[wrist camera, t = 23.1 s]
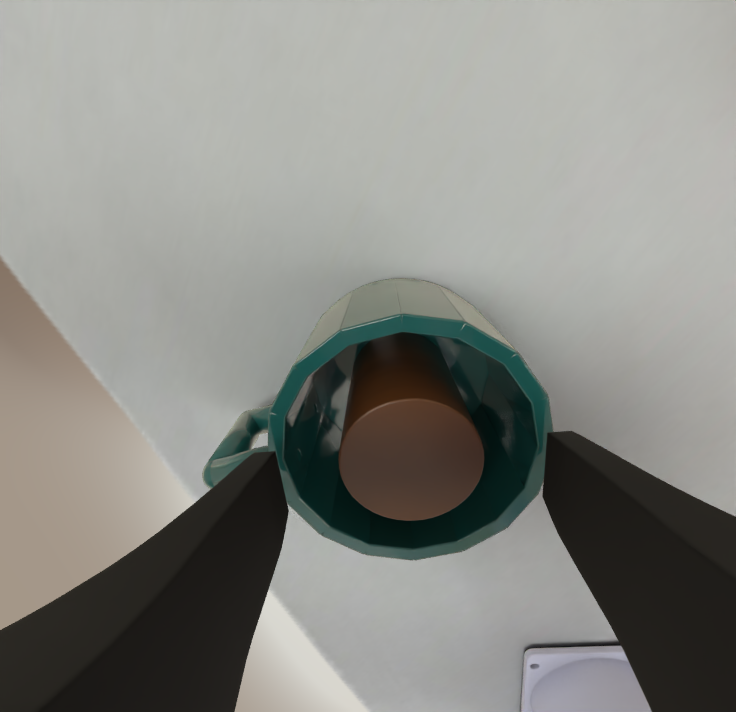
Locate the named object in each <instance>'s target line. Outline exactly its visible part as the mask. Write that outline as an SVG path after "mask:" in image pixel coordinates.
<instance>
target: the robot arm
mask: <svg viewBox="0 0 736 712" xmlns="http://www.w3.org/2000/svg"><path fill="white" fill-rule="evenodd" d="M543 499H544V501H545V504H546V506H547V509H548V511H549V514H550V516H551V518H552V521H553V523H554V525H555V528H556V530H557V532H558V534H559V536H560V538H561V540H562V542H563V543H564V545H565V547H566V549H567V550H568V552H569V554H570V556H571V558H572V559H573V561H574V563H575V565H576V566H577V568H578V570H579V572H580V573H581V575H582V577H583V579H584V580H585V582H586V584H587V585H588V587H589V589H590V591H591V592H592V594H593V596H594V598H595V599H596V601H597V603H598V605H599V606H600V608H601V610H602V612H603V613H604V615H605V617H606V618H607V620H608V622H609V624H610V626H611V627H612V629H613V631H614V633H615V635H616V637H617V639H618V641H619V643H620V644H621V645H620V646H589V647H557V648H532V649H528V650H527V651H526V652H525V654H524V666H523V682H522V698H521V712H736V517H735V516H733V515H731V514H728V513H726V512H724V511H722V510H720V509H718V508H716V507H713V506H711V505H709V504H707V503H705V502H703V501H701V500H699V499H697V498H695V497H693V496H691V495H689V494H687V493H685V492H683V491H681V490H679V489H677V488H675V487H673V486H671V485H670V484H668V483H666V482H664V481H662V480H660V479H658V478H656V477H654V476H653V475H651V474H649V473H647V472H645V471H643V470H642V469H640V468H638V467H636V466H634V465H633V464H631V463H629V462H627V461H626V460H624V459H622V458H620V457H618V456H617V455H615V454H613V453H611V452H610V451H608V450H606V449H604V448H603V447H601V446H599V445H597V444H595V443H594V442H592V441H590V440H588V439H586V438H585V437H583V436H581V435H579V434H577V433H575V432H573V431H564V432H550V433H547V443H546V457H545V471H544V485H543ZM288 512H289V511H288V506H287V501H286V497H285V492H284V488H283V483H282V478H281V474H280V469H279V465H278V460H277V456H276V451H271V452H256V453H253V454H251V455H250V456H249V457H248V458H246V459H245V460H244V461H243V462H242V463H240V464H239V465H238V466H237V467H236V468H235V469H234V470H232V471H231V472H230V473H229V474H228V475H227V476H226V477H225V478H223V479H222V480H221V481H220V482H219V483H218V484H216V485H215V486H214V487H213V488H212V489H211V490H210V491H208V492H207V493H206V494H205V495H204V496H203V497H201V498H200V499H199V500H198V501H197V502H196V503H194V504H193V505H192V506H191V507H189V508H188V509H187V510H186V511H184V512H183V513H182V514H181V515H179V516H178V517H177V518H176V519H174V520H173V521H172V522H171V523H169V524H168V525H167V526H166V527H164V528H163V529H162V530H161V531H159V532H158V533H157V534H155V535H154V536H153V537H151V538H150V539H148V540H147V541H146V542H144V543H143V544H142V545H140V546H139V547H137V548H136V549H135V550H133V551H132V552H130V553H129V554H127V555H126V556H124V557H123V558H121V559H120V560H119V561H117V562H115V563H114V564H112V565H111V566H109V567H108V568H106V569H105V570H103V571H102V572H100V573H98V574H97V575H95V576H93V577H92V578H90V579H88V580H87V581H85V582H84V583H82V584H80V585H79V586H77V587H75V588H74V589H72V590H71V591H69V592H67V593H66V594H64V595H62V596H61V597H59V598H58V599H56V600H54V601H53V602H51V603H49V604H47V605H45V606H44V607H42V608H40V609H38V610H36V611H35V612H33V613H31V614H29V615H28V616H26V617H24V618H22V619H20V620H19V621H17V622H15V623H13V624H11V625H9V626H7V627H5V628H3V629H2V630H0V712H234V711H235V707H236V702H237V698H238V694H239V689H240V685H241V681H242V676H243V672H244V668H245V663H246V659H247V656H248V652H249V649H250V645H251V642H252V638H253V635H254V632H255V629H256V626H257V623H258V620H259V617H260V614H261V611H262V607H263V604H264V601H265V598H266V595H267V592H268V589H269V586H270V583H271V580H272V577H273V574H274V571H275V567H276V564H277V561H278V558H279V555H280V551H281V548H282V544H283V539H284V534H285V529H286V523H287V517H288Z"/></svg>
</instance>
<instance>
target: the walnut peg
mask: <svg viewBox="0 0 736 712" xmlns="http://www.w3.org/2000/svg"><path fill="white" fill-rule="evenodd" d="M338 462H339V470H340V475H341V477H342V480H343V483H344V484H345V486H346V488H347V490H348V491H349V492H350V494H351V495H352V496H353V497H354V498H355V499H356V500H357V501H358V502H359V503H360V504H361V505H363V506H364V507H365V508H367V509H369V510H370V511H372V512H374V513H376V514H379V515H381V516H384V517H387V518H391V519H396V520H406V521H412V520H424V519H428V518H433V517H436V516H439V515H442V514H444V513H446V512H448V511H450V510H452V509H454V508H455V507H457V506H458V505H459V504H461V503H462V502H463V501H464V500H465V499H466V498H467V497H468V496H469V495H470V494H471V493H472V491H473V490H474V489H475V487H476V485H477V484H478V482H479V480H480V477H481V475H482V471H483V467H484V449H483V444H482V441H481V438H480V436H479V434H478V431H477V429H476V427H475V425H474V423H473V420H472V418H471V416H470V414H469V412H468V409H467V407H466V405H465V403H464V401H463V398H462V396H461V394H460V392H459V390H458V387H457V385H456V383H455V381H454V379H453V377H452V374H451V372H450V370H449V368H448V366H447V363H446V361H445V359H444V357H443V355H442V353H441V352H440V350H439V349H438V348H437V346H435V345H434V344H433V343H432V342H431V341H430V340H428V339H427V338H425V337H423V336H421V335H418V334H414V333H406V332H400V333H397V334H393V335H389V336H385V337H381V338H377V339H373V340H371V341H370V342H369V343H367V344H366V345H365V346H364V347H363V348H362V350H361V351H360V352H359V354H358V355H357V357H356V359H355V362H354V365H353V369H352V375H351V381H350V387H349V393H348V400H347V406H346V412H345V418H344V424H343V431H342V437H341V443H340V449H339V459H338Z"/></svg>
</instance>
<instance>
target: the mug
mask: <svg viewBox="0 0 736 712" xmlns="http://www.w3.org/2000/svg"><path fill="white" fill-rule="evenodd" d="M400 332H406V333H414V334H418V335H421V336H423V337H425V338H427V339H428V340H430V341H431V342H432V343H433V344H434V345H435V346H437V348H438V349H439V350H440V352H441V353H442V355H443V357H444V359H445V361H446V363H447V366H448V368H449V370H450V372H451V374H452V377H453V379H454V381H455V383H456V385H457V387H458V390H459V392H460V394H461V396H462V398H463V401H464V403H465V405H466V407H467V409H468V412H469V414H470V416H471V418H472V420H473V423H474V425H475V427H476V429H477V431H478V434H479V436H480V438H481V441H482V444H483V449H484V467H483V471H482V475H481V477H480V480H479V482H478V484H477V485H476V487H475V489H474V490H473V491H472V493H471V494H470V495H469V496H468V497H467V498H466V499H465V500H464V501H463V502H462V503H461V504H459V505H458V506H457V507H455V508H454V509H452V510H450V511H448V512H446V513H444V514H442V515H439V516H436V517H433V518H428V519H424V520H412V521H406V520H396V519H391V518H387V517H384V516H381V515H379V514H376V513H374V512H372V511H370V510H369V509H367V508H365V507H364V506H363V505H361V504H360V503H359V502H358V501H357V500H356V499H355V498H354V497H353V496H352V495H351V494H350V492H349V491H348V490H347V488H346V486H345V484H344V483H343V480H342V477H341V475H340V470H339V462H338V459H339V449H340V443H341V437H342V431H343V424H344V418H345V412H346V406H347V400H348V393H349V387H350V381H351V375H352V369H353V365H354V362H355V359H356V357H357V355H358V354H359V352H360V351H361V350H362V348H363V347H364V346H365V345H366V344H367V343H369V342H370V341H371V340H373V339H377V338H381V337H385V336H389V335H393V334H397V333H400ZM550 432H553V425H552V417H551V410H550V402H549V397H548V394H547V393H546V391H545V390H544V388H543V387H542V385H541V384H540V383H539V381H538V380H537V378H536V377H535V375H534V374H533V372H532V371H531V370H530V368H529V367H528V365H527V364H526V362H525V361H524V360H523V358H522V357H521V355H520V354H519V352H518V351H517V350H516V349H515V348H514V347H513V346H512V345H511V344H510V343H509V342H508V341H507V340H506V339H505V338H504V337H503V336H502V335H501V334H500V333H499V332H498V331H497V330H496V329H495V328H494V327H493V326H492V325H491V324H490V323H489V322H488V321H487V320H486V319H485V318H484V317H483V316H482V315H481V314H480V313H479V312H478V311H477V310H476V309H475V308H474V307H473V306H472V305H471V304H470V303H468V302H466V301H465V300H463V299H462V298H461V297H459V296H458V295H456V294H455V293H453V292H452V291H450V290H448V289H446V288H444V287H442V286H439V285H436V284H433V283H430V282H427V281H422V280H417V279H406V278H397V279H386V280H381V281H377V282H373V283H370V284H367V285H364V286H361V287H359V288H357V289H355V290H353V291H352V292H350V293H348V294H347V295H345V296H344V297H342V298H341V299H339V300H338V301H337V302H336V303H335V304H334V305H333V306H332V307H331V308H329V310H328V311H327V312H325V313H324V314H323V315H322V316H321V318H320V320H319V321H318V323H317V325H316V326H315V328H314V330H313V332H312V333H311V335H310V337H309V339H308V340H307V342H306V344H305V346H304V347H303V349H302V351H301V353H300V354H299V356H298V358H297V359H296V361H295V363H294V365H293V366H292V368H291V370H290V372H289V374H288V376H287V378H286V380H285V381H284V383H283V385H282V387H281V389H280V391H279V393H278V395H277V397H276V399H275V400H274V402H273V404H272V405H268V406H264V407H260V408H256V409H252V410H248V411H245V412H244V413H242V414H241V415H240V416H239V418H238V419H237V421H236V422H235V423H234V425H233V426H232V428H231V429H230V431H229V432H228V434H227V435H226V436H225V438H224V439H223V441H222V442H221V444H220V445H219V447H218V448H217V449H216V451H215V452H214V454H213V455H212V457H211V458H210V459H209V461H208V462H207V464H206V465H205V467H204V469H203V473H202V478H203V481H204V483H205V485H206V486H207V487H208V488H210V489H212V488H213V487H214V486H215V485H216V484H218V483H219V482H220V481H221V480H222V479H223V478H225V477H226V476H227V475H228V474H229V473H230V472H231V471H232V470H234V469H235V468H236V467H237V466H238V465H239V464H240V463H242V462H243V461H244V460H245V459H246V458H248V457H249V456H250V455H251V454H253V453H256V452H271V451H276V456H277V460H278V465H279V469H280V474H281V478H282V483H283V488H284V492H285V497H286V501H287V504H288V505H289V506H290V507H291V508H293V509H294V510H295V511H296V512H297V513H298V514H299V515H300V516H301V517H302V518H303V519H304V520H305V521H306V522H307V523H308V524H309V525H310V526H311V527H312V528H313V529H315V530H316V531H317V532H318V533H319V534H321V535H322V536H324V537H326V538H328V539H330V540H332V541H335V542H337V543H339V544H341V545H344V546H346V547H348V548H350V549H353V550H355V551H357V552H359V553H361V554H365V555H370V556H379V557H387V558H396V559H404V560H413V559H414V560H420V559H425V558H431V557H436V556H442V555H447V554H453V553H458V552H462V551H465V550H467V549H469V548H471V547H473V546H474V545H476V544H478V543H480V542H482V541H484V540H486V539H488V538H490V537H491V536H493V535H495V534H497V533H499V532H501V531H503V530H505V529H506V528H508V527H509V526H510V524H511V523H512V522H513V521H514V520H515V519H516V518H517V517H518V516H519V515H520V513H521V512H522V511H523V510H524V509H525V508H526V507H527V506H528V505H529V504H530V502H531V501H532V500H533V499H534V498H535V497H536V496H537V495H538V494H539V491H540V489H541V486H542V484H543V481H544V471H545V457H546V443H547V433H550ZM265 433H268V446H263V447H259V448H255V449H252V448H253V446H254V444H255V442H256V440H257V439H258V437H259V435H261V434H265Z"/></svg>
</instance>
